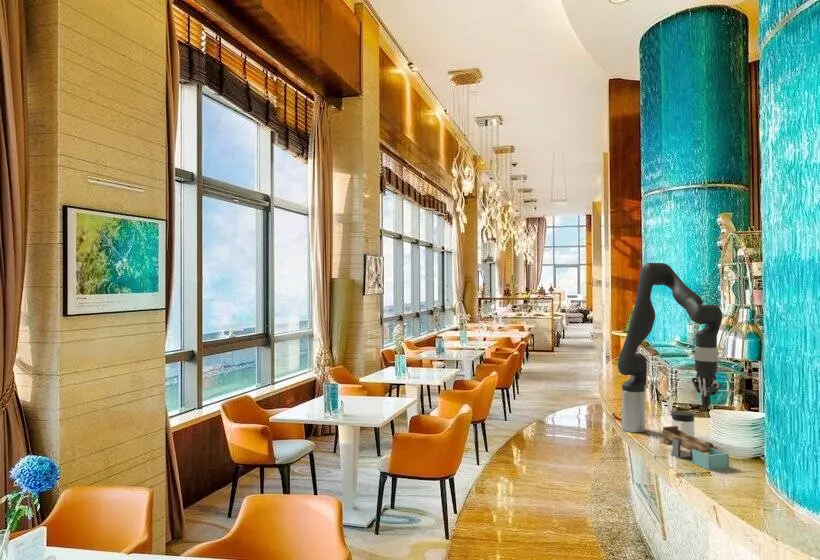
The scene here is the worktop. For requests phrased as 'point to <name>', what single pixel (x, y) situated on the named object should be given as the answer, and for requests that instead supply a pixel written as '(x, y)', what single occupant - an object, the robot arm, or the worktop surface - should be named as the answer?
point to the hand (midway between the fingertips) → (705, 405)
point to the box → (711, 459)
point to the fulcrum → (677, 450)
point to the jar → (684, 422)
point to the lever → (685, 440)
